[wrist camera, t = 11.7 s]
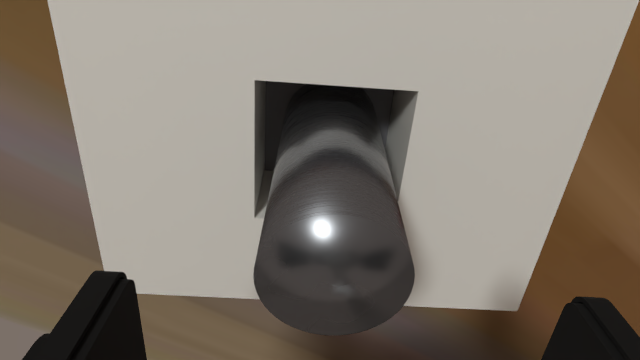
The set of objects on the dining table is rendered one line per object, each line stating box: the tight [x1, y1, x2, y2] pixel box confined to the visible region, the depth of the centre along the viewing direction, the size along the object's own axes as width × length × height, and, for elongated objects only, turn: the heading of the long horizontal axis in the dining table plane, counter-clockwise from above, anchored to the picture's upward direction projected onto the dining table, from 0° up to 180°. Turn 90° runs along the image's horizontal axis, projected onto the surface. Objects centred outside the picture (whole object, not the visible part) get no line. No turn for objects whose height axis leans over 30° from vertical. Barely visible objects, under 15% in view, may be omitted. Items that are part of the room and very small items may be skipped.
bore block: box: [48, 0, 639, 311], centre depth 18 cm, size 18×14×5 cm
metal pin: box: [253, 84, 415, 335], centre depth 15 cm, size 4×4×10 cm
